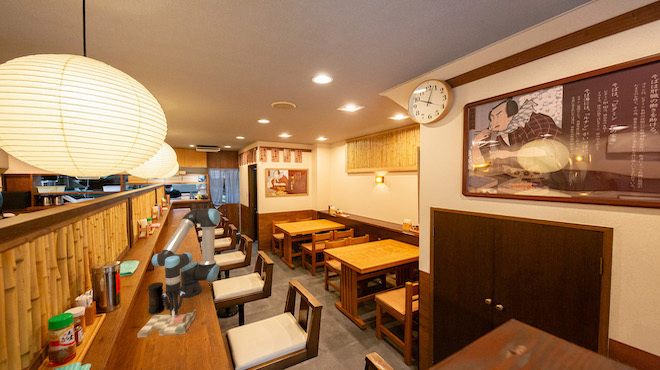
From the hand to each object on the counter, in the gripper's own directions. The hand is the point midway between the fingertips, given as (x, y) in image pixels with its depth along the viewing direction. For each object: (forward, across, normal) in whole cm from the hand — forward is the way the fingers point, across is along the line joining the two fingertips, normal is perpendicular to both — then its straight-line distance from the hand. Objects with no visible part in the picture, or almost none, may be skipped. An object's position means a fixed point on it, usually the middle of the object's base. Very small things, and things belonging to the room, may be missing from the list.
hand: (174, 319), depth 151 cm
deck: (+4, -4, 0) cm, 5 cm away
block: (+1, +3, 0) cm, 3 cm away
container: (+4, -19, +18) cm, 26 cm away
